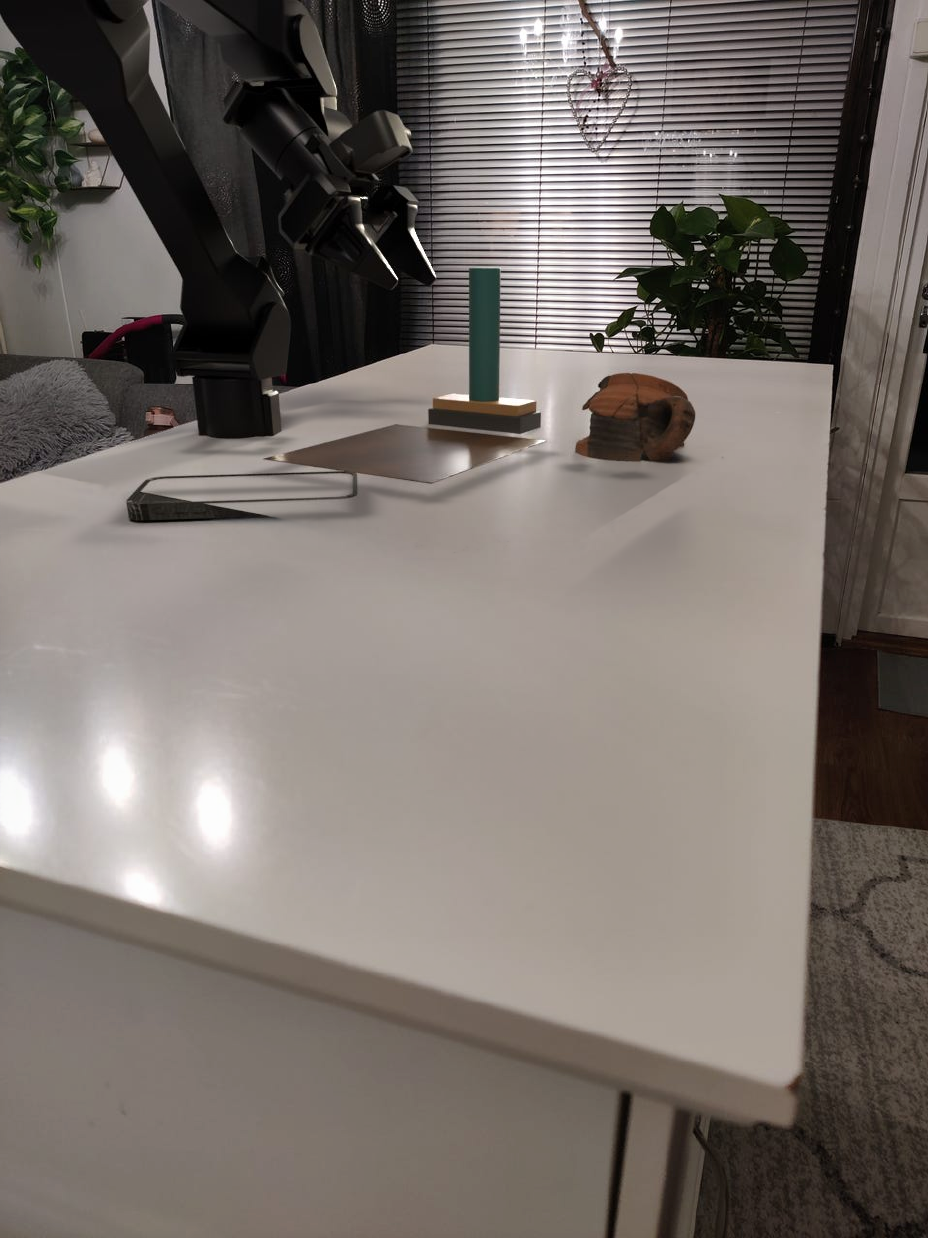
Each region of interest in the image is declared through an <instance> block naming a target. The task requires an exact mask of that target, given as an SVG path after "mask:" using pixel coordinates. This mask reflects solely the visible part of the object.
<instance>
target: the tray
mask: <svg viewBox="0 0 928 1238" xmlns="http://www.w3.org/2000/svg"><path fill="white" fill-rule="evenodd" d="M545 442H547V440H545V439H544V440H543V439H536V438H526V437H517V436H509V435H499V434H488V433H481V432H480V433H479V432H471V431H463V430H454V429H453V430H452V429H444V428H443V429H442V428H434V427H425V426H416V425H407V424H395V423H394V424H392V425H387V426H384V427H379V428H376V429H372V430H369V431H364V432H360V433H357V434H353V435H349V436H345V437H342V438H337V439H334V440H329V441H327V442H323V443H318V444H314V445H311V446H307V447H303V448H298V449H296V450H291V451H287V452H284V453H280V454H276V455H272V456H268V457H265V458H264V457H263V460H267V461H272V462H280V463H285V464H292V465H293V464H294V465H300V466H305V467H314V468H318V469H319V468H320V469H321V468H322V469H326V470H333V471H350V472H355V473H356V474H361V475H370V476H376V477H383V478H389V479H395V480H402V481H409V482H416V483H423V484H431V485H433V484H434V483H435V484H436V483H437V482H441V481H443V480H446V479H449V478H451V477H454V476H456V475H460V474H461V473H464V472H468V471H469V470H472V469H475V468H478V467H480V466H483V465H486V464H488V463H491V462H494V461H497V460H499V459H502V458H505V457H507V456H510V455H513V454H515V453H518V452H521V451H524V450H527V449H529V448H533V447H535V446H537V445H541V444H543V443H545Z"/></svg>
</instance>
